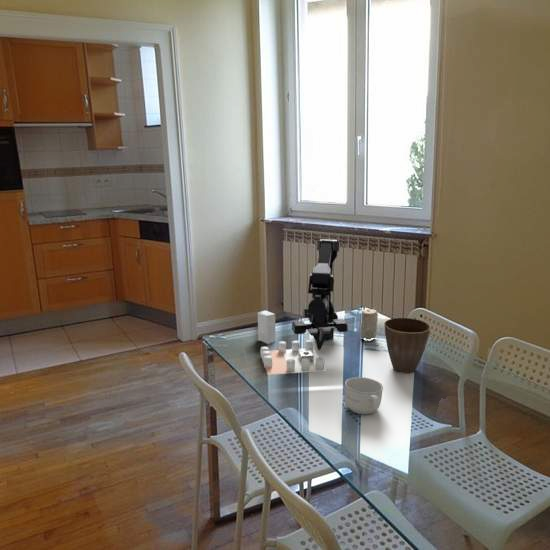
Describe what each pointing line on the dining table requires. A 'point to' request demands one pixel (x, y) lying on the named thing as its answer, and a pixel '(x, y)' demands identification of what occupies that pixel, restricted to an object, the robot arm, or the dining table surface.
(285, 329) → the dining table surface
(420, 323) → the plant pot
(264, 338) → the skincare box
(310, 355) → the nut
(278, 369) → the board
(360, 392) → the teacup
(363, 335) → the beige upright cylinder
